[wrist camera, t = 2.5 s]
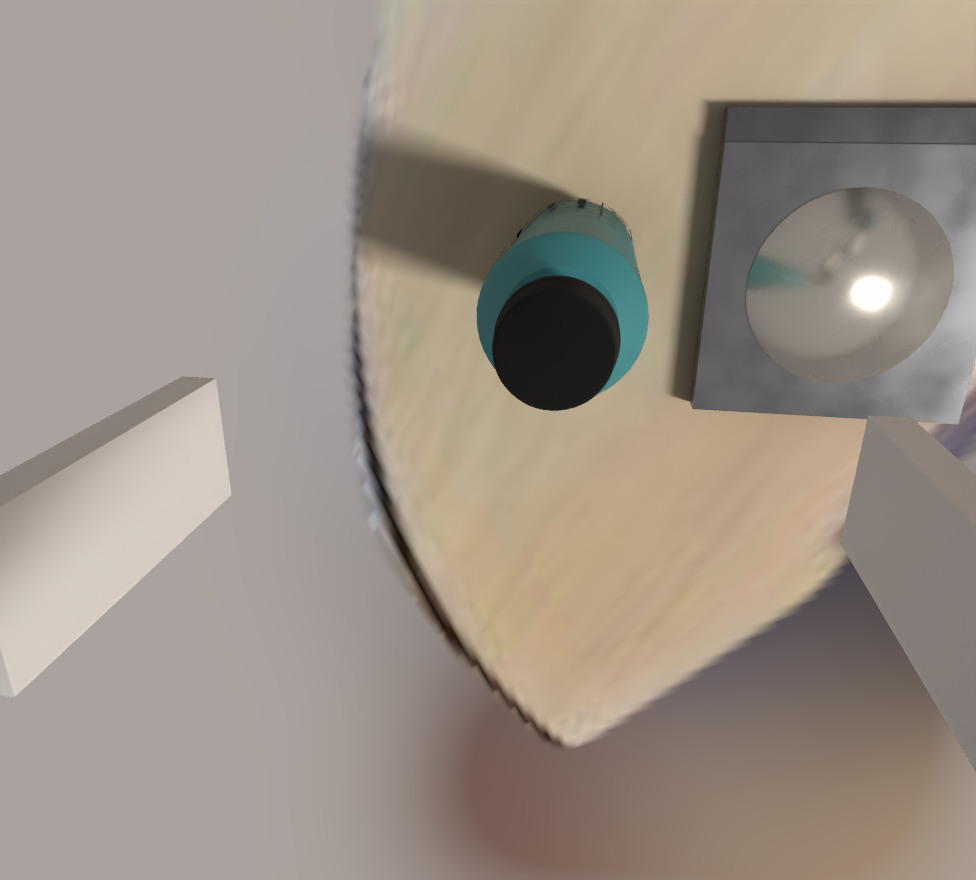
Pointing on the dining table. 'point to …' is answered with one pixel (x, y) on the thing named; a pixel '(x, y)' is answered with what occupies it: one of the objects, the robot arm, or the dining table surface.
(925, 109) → the motor plate
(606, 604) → the dining table surface
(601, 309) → the beverage bottle
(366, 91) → the dining table surface
